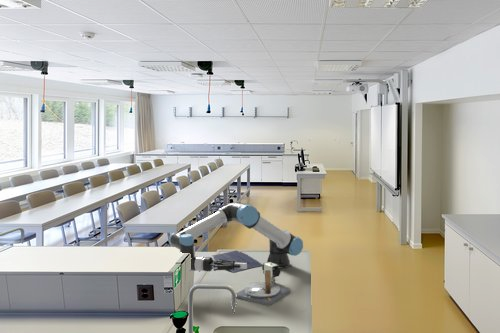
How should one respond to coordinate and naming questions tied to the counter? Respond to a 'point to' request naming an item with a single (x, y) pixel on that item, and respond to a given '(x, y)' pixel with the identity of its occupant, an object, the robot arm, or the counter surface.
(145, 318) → the counter surface
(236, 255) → the dark blue flat panel
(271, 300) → the dial plate
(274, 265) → the pneumatic valve
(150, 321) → the counter surface
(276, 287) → the peg stand
